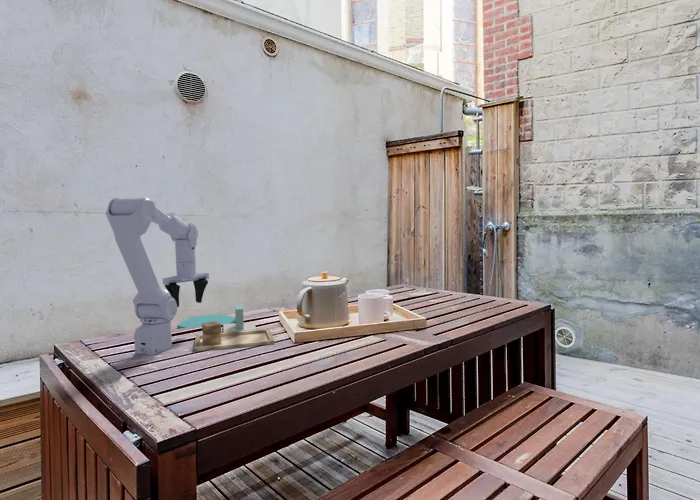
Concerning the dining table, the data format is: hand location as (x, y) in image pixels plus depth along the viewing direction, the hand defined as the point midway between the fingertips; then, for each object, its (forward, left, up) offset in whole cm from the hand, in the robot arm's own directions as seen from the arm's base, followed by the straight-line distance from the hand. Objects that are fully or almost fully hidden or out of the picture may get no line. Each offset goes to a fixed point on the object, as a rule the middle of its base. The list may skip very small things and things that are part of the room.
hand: (187, 304), depth 139 cm
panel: (+8, -14, -8) cm, 18 cm away
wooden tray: (-4, -19, -10) cm, 22 cm away
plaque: (+14, +3, -11) cm, 18 cm away
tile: (+8, -14, -10) cm, 19 cm away
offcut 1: (-7, -14, -6) cm, 17 cm away
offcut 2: (-7, -14, -9) cm, 18 cm away
